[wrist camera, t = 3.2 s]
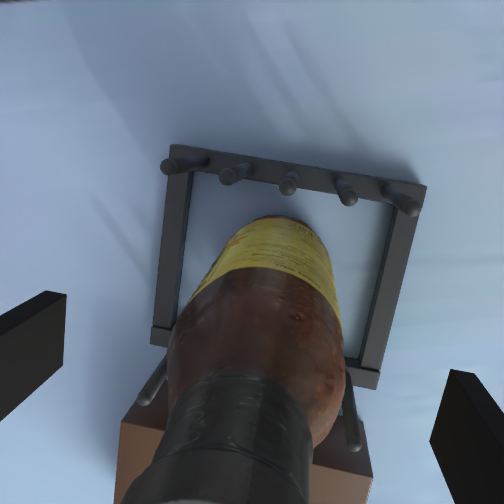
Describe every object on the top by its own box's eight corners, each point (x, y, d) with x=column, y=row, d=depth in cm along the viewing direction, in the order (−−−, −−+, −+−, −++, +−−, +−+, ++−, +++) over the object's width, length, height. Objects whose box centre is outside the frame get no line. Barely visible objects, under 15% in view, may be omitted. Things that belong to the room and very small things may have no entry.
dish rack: (422, 184, 25) (470, 202, 17) (373, 380, 28) (396, 469, 20) (176, 144, 26) (120, 145, 18) (155, 336, 29) (100, 404, 21)
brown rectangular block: (363, 421, 29) (373, 477, 24) (332, 545, 31) (336, 619, 26) (151, 376, 30) (120, 421, 25) (138, 499, 32) (107, 562, 27)
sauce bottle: (219, 218, 27) (-17, 413, 8) (325, 206, 26) (365, 394, 7) (235, 321, 28) (70, 706, 9) (336, 313, 27) (394, 725, 8)
